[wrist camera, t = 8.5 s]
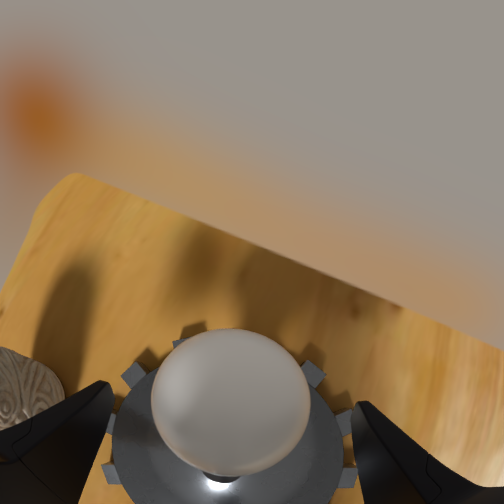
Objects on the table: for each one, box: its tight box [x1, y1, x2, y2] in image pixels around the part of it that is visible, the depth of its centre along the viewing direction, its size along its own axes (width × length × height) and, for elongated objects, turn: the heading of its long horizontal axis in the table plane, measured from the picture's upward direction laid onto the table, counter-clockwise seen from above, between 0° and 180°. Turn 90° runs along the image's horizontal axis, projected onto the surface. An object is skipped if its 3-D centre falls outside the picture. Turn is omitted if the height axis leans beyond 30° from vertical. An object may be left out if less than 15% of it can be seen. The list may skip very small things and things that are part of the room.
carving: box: [0, 347, 65, 431], centre depth 12 cm, size 6×8×12 cm
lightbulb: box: [151, 328, 311, 477], centre depth 12 cm, size 6×6×11 cm
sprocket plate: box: [101, 337, 358, 504], centre depth 15 cm, size 19×19×2 cm
